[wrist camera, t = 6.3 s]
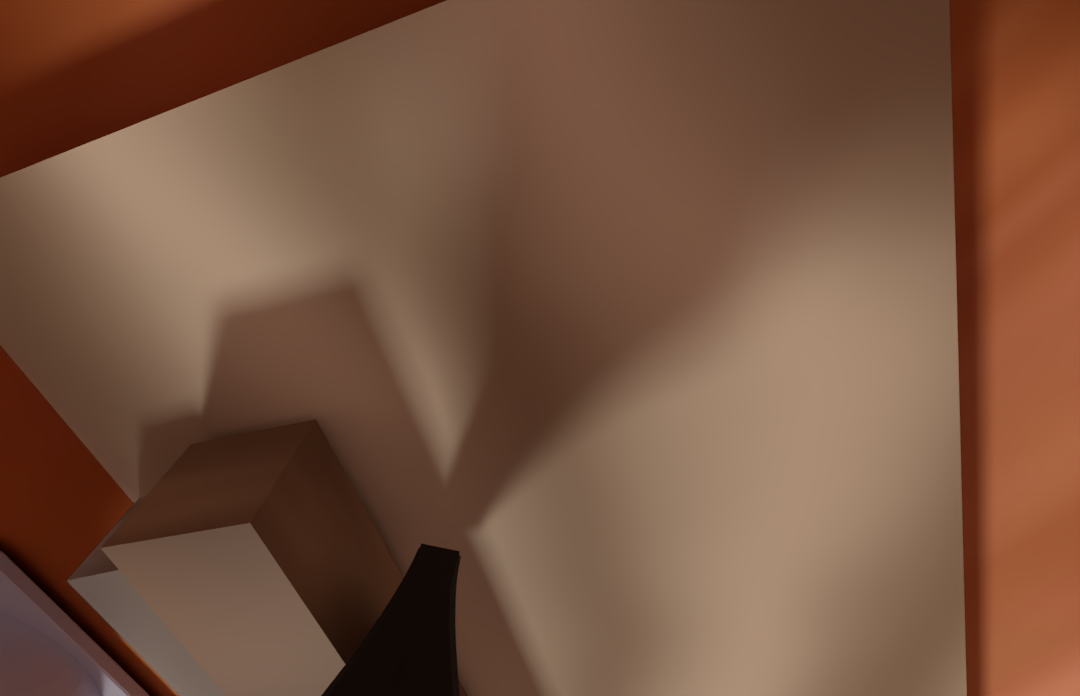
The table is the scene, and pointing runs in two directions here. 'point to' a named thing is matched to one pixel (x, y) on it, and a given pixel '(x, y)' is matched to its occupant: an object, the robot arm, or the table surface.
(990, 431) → the table surface
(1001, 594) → the table surface
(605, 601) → the stool seat
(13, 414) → the table surface
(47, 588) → the table surface
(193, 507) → the stool leg
